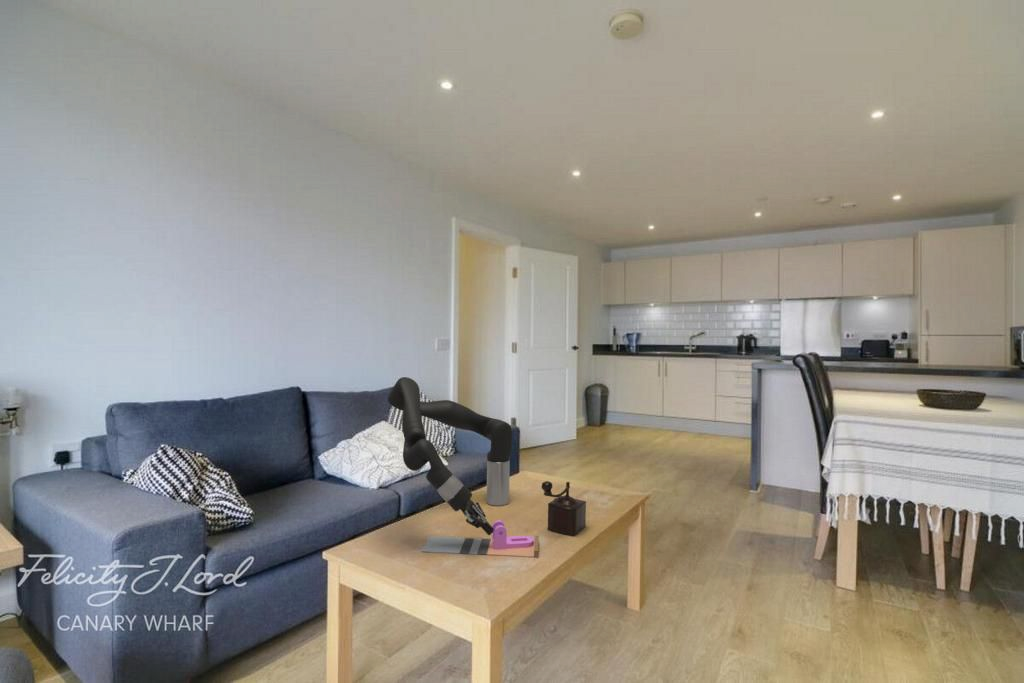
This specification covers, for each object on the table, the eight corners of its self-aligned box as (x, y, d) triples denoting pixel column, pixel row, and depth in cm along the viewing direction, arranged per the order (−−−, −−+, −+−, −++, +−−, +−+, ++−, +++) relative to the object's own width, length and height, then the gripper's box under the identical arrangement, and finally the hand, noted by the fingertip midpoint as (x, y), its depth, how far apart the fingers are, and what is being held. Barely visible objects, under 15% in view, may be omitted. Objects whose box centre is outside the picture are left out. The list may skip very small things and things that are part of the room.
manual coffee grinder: (558, 520, 175) (559, 471, 175) (586, 527, 169) (587, 476, 169) (538, 534, 162) (538, 481, 162) (567, 542, 156) (568, 487, 156)
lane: (429, 537, 158) (429, 531, 158) (538, 542, 156) (538, 536, 156) (421, 551, 147) (421, 545, 147) (537, 557, 145) (538, 550, 145)
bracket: (494, 549, 149) (494, 527, 149) (492, 541, 155) (492, 520, 155) (535, 546, 151) (535, 525, 151) (531, 539, 157) (531, 518, 157)
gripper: (450, 493, 159) (486, 532, 158) (441, 507, 146) (480, 549, 145) (466, 478, 158) (502, 517, 158) (458, 491, 145) (498, 533, 144)
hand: (491, 532), depth 151 cm, fingers closed
